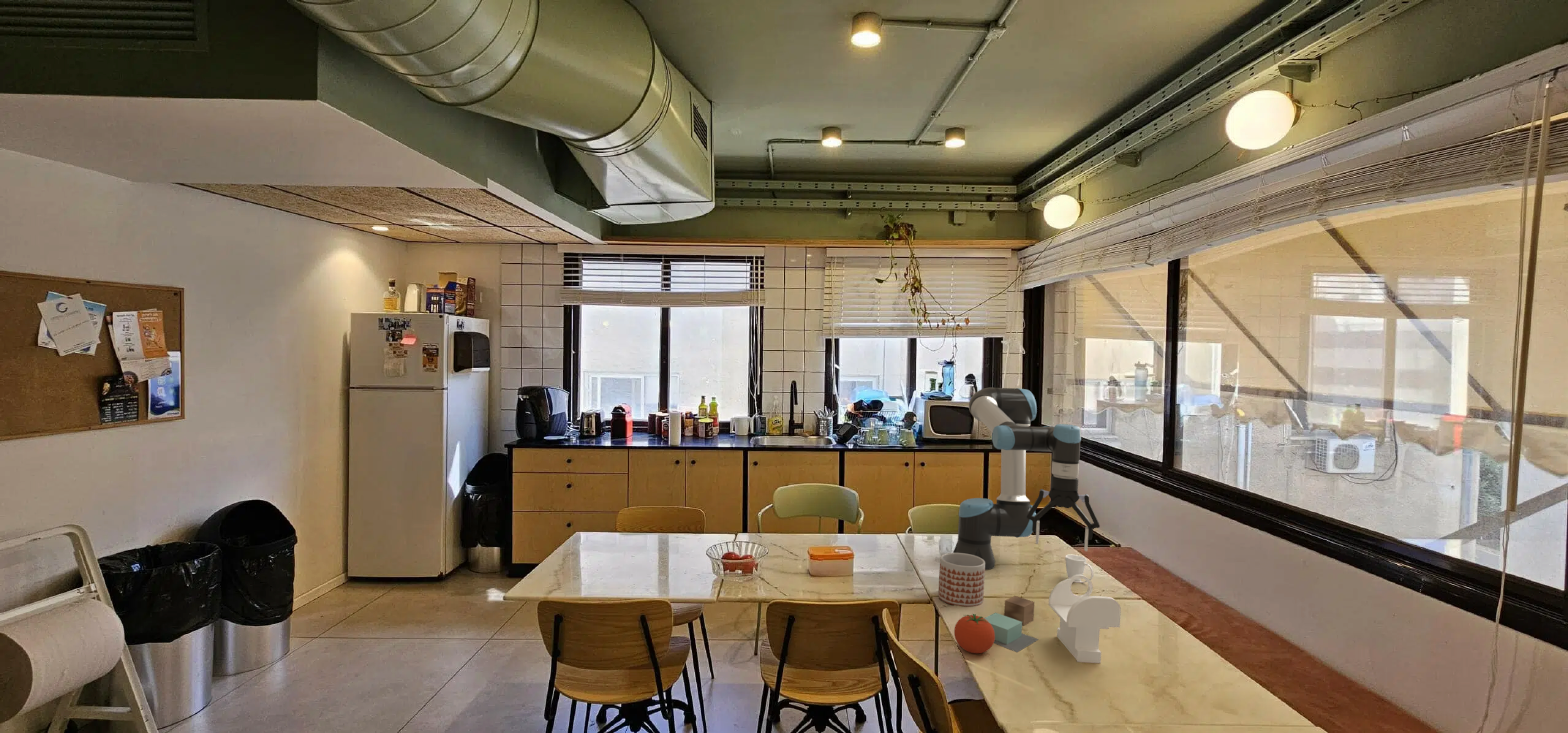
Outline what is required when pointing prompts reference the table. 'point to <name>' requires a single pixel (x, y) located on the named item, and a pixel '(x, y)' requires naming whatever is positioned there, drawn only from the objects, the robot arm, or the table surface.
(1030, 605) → the walnut block
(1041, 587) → the table surface
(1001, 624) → the teal base block
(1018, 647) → the build mat
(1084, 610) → the tape dispenser
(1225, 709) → the table surface
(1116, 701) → the table surface
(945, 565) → the planter
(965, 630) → the tomato
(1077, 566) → the cup
